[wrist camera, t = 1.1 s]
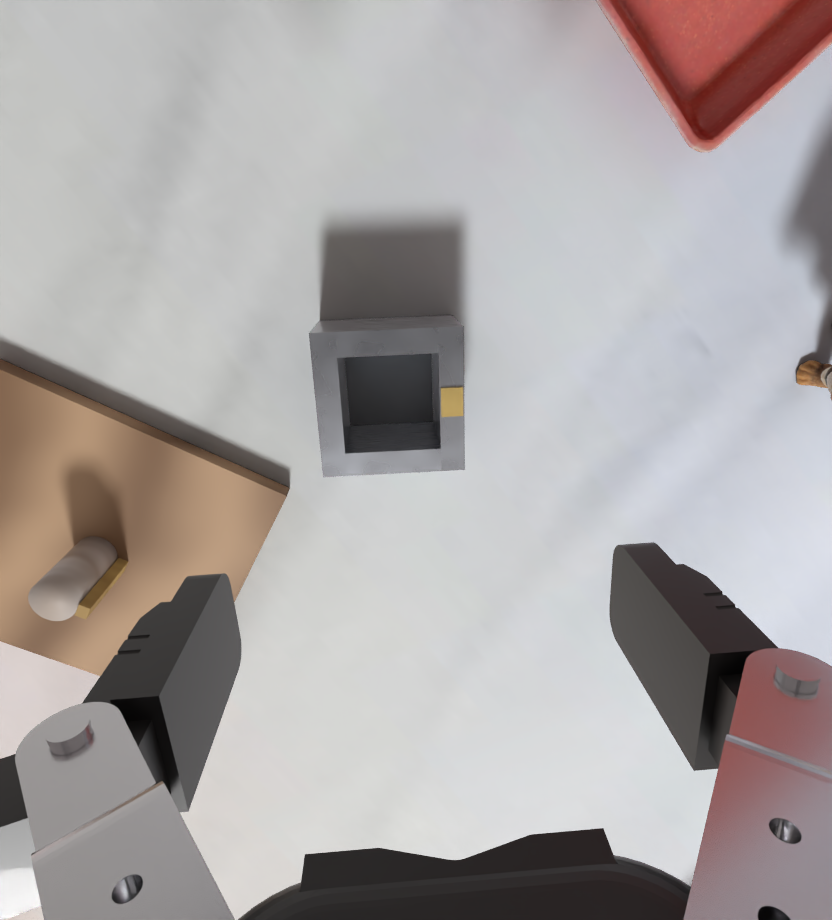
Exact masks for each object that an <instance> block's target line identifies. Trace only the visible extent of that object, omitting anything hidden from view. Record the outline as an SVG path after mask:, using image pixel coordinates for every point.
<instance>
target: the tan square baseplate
mask: <svg viewBox="0 0 832 920" xmlns="http://www.w3.org/2000/svg"><path fill="white" fill-rule="evenodd" d="M289 489H290V488H289V487H286V486H284V485H282V484H280V483H277V482H275V481H273V480H271V479H268V478H266V477H264V476H262V475H260V474H257V473H255V472H253V471H251V470H248V469H246V468H244V467H242V466H239V465H237V464H235V463H233V462H230V461H228V460H226V459H224V458H221V457H219V456H217V455H215V454H212V453H210V452H208V451H206V450H203V449H201V448H199V447H197V446H194V445H192V444H190V443H188V442H185V441H183V440H181V439H179V438H177V437H174V436H172V435H170V434H168V433H165V432H163V431H161V430H159V429H156V428H154V427H152V426H150V425H147V424H145V423H143V422H141V421H138V420H136V419H134V418H132V417H129V416H127V415H125V414H123V413H120V412H118V411H116V410H114V409H111V408H109V407H107V406H105V405H102V404H100V403H98V402H96V401H94V400H91V399H89V398H87V397H85V396H82V395H80V394H78V393H76V392H73V391H71V390H69V389H67V388H64V387H62V386H60V385H58V384H55V383H53V382H51V381H49V380H46V379H44V378H42V377H40V376H37V375H35V374H33V373H31V372H28V371H26V370H24V369H22V368H20V367H17V366H15V365H13V364H11V363H8V362H6V361H4V360H2V359H0V641H1V642H4V643H7V644H10V645H13V646H16V647H19V648H21V649H24V650H27V651H30V652H33V653H36V654H39V655H41V656H44V657H47V658H50V659H53V660H56V661H59V662H62V663H64V664H67V665H70V666H73V667H76V668H79V669H82V670H84V671H87V672H90V673H93V674H96V675H99V676H101V675H102V673H103V672H104V670H105V669H106V667H107V666H108V664H109V663H110V661H111V660H112V659H113V657H114V656H115V655H117V654H118V650H119V648H120V647H121V645H122V644H123V642H124V641H125V640H127V639H128V635H129V633H130V632H131V630H132V629H133V627H134V626H135V625H136V623H137V622H138V620H139V619H140V618H141V617H142V616H143V615H145V614H146V613H147V612H149V611H150V610H151V609H153V608H154V607H155V606H156V605H158V604H159V603H160V602H171V600H172V599H173V597H174V596H175V594H176V592H177V591H178V589H179V588H180V586H181V584H182V583H183V581H184V579H185V578H186V577H187V576H194V575H207V574H221V573H225V574H227V576H228V578H229V580H230V584H231V589H232V594H233V600H234V602H235V600H236V598H237V596H238V594H239V592H240V590H241V588H242V586H243V584H244V582H245V580H246V578H247V576H248V573H249V571H250V569H251V567H252V565H253V563H254V561H255V559H256V557H257V555H258V553H259V551H260V549H261V547H262V545H263V543H264V541H265V539H266V537H267V535H268V533H269V531H270V529H271V527H272V525H273V523H274V521H275V519H276V517H277V515H278V513H279V511H280V509H281V507H282V505H283V503H284V501H285V498H286V496H287V494H288V491H289Z"/></svg>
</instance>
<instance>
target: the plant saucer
mask: <svg viewBox="0 0 832 920" xmlns="http://www.w3.org/2000/svg"><path fill="white" fill-rule="evenodd" d="M596 2H597V3H598V5H599V6H600V8H601V10H602V11H603V13H604V14H605V16H606V18H607V19H608V21H609V22H610V24H611V25H612V27H613V28H614V30H615V32H616V33H617V35H618V36H619V38H620V39H621V41H622V42H623V44H624V46H625V47H626V49H627V50H628V52H629V53H630V55H631V56H632V58H633V59H634V61H635V62H636V64H637V66H638V67H639V69H640V70H641V72H642V74H643V75H644V77H645V78H646V80H647V82H648V83H649V85H650V86H651V88H652V89H653V91H654V92H655V94H656V95H657V97H658V98H659V100H660V102H661V103H662V105H663V107H664V108H665V110H666V111H667V113H668V114H669V116H670V118H671V119H672V121H673V122H674V124H675V125H676V127H677V129H678V130H679V132H680V133H681V135H682V136H683V138H684V140H685V141H686V143H687V144H688V145H689V146H690V147H691V148H693V149H694V150H696V151H699V152H711V151H713V150H714V149H716V148H717V147H718V146H720V145H721V144H722V143H723V142H725V141H726V140H727V139H728V138H729V137H730V136H731V135H732V134H733V133H735V132H736V131H737V130H738V129H739V128H740V127H741V126H742V125H743V124H744V123H745V122H746V121H747V120H748V119H749V118H750V117H752V116H753V115H754V114H755V113H756V112H758V111H759V110H760V109H761V108H762V107H763V106H764V105H765V104H766V103H768V102H769V101H770V100H771V99H772V98H773V97H774V96H775V95H776V94H778V93H779V92H780V91H781V90H782V89H783V88H784V87H785V86H786V85H787V84H788V83H789V82H791V81H792V80H793V79H794V78H795V77H796V76H797V75H798V74H800V73H801V72H802V71H803V70H804V69H805V68H806V67H807V66H808V65H810V64H811V63H812V62H813V61H814V60H815V59H816V58H817V57H818V56H819V55H820V54H821V53H822V52H823V51H824V50H826V49H827V48H828V47H829V46H830V45H831V44H832V0H596Z"/></svg>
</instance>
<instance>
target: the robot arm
mask: <svg viewBox="0 0 832 920" xmlns="http://www.w3.org/2000/svg"><path fill="white" fill-rule="evenodd" d="M610 622H611V627H612V631H613V634H614V637H615V639H616V641H617V643H618V645H619V646H620V648H621V650H622V651H623V653H624V655H625V656H626V658H627V660H628V661H629V663H630V665H631V666H632V668H633V670H634V671H635V673H636V675H637V676H638V678H639V680H640V681H641V683H642V685H643V686H644V688H645V690H646V691H647V693H648V695H649V696H650V698H651V700H652V701H653V703H654V705H655V706H656V708H657V710H658V711H659V713H660V715H661V716H662V718H663V720H664V722H665V723H666V725H667V727H668V728H669V730H670V732H671V733H672V735H673V737H674V738H675V740H676V742H677V743H678V745H679V747H680V748H681V750H682V752H683V753H684V755H685V757H686V758H687V760H688V762H689V763H690V765H691V767H692V768H693V770H694V771H695V770H707V769H718V773H717V777H716V781H715V786H714V790H713V794H712V798H711V803H710V807H709V811H708V816H707V820H706V824H705V829H704V833H703V837H702V842H701V846H700V850H699V855H698V859H697V863H696V868H695V872H694V876H693V881H692V885H691V887H690V886H689V885H687V884H686V883H684V882H683V881H681V880H679V879H677V878H675V877H673V876H672V875H670V874H668V873H666V872H664V871H662V870H660V869H657V868H655V867H652V866H650V865H647V864H645V863H642V862H639V861H635V860H632V859H628V858H625V857H620V856H615V855H613V853H612V850H611V848H610V845H609V842H608V840H607V837H606V834H605V832H604V829H603V828H602V829H590V830H579V831H568V832H556V833H545V834H533V835H529V836H526V837H523V838H520V839H518V840H515V841H512V842H509V843H507V844H504V845H501V846H498V847H496V848H493V849H490V850H487V851H485V852H482V853H479V854H477V855H474V856H471V857H468V858H466V859H462V860H446V859H441V858H435V857H429V856H423V855H417V854H411V853H405V852H400V851H394V850H388V849H382V848H373V849H362V850H350V851H339V852H328V853H316V854H305V858H304V866H303V873H302V881H301V883H298V884H296V885H293V886H290V887H288V888H286V889H284V890H282V891H280V892H278V893H276V894H274V895H272V896H270V897H269V898H267V899H266V900H264V901H263V902H261V903H259V904H258V905H256V906H255V907H253V908H252V909H251V910H250V911H248V912H247V913H246V914H244V915H243V916H242V917H241V918H239V919H238V920H832V666H830V665H828V664H827V663H825V662H823V661H821V660H819V659H817V658H815V657H812V656H810V655H807V654H804V653H801V652H797V651H793V650H788V649H780V648H778V647H777V646H776V645H775V644H774V643H773V642H772V641H771V640H770V639H769V638H768V637H767V636H766V635H765V634H764V633H763V632H762V631H761V630H760V629H759V628H758V627H757V626H756V625H755V624H754V623H753V622H752V621H751V620H750V619H749V618H748V617H747V616H746V615H745V614H744V613H743V612H742V611H741V610H740V609H739V608H735V604H734V603H733V602H732V601H731V600H730V599H729V598H728V597H727V596H726V595H723V594H722V591H721V590H720V589H719V588H718V587H717V586H716V585H715V584H714V583H713V582H712V581H711V580H710V579H709V578H708V577H707V576H705V575H703V574H701V573H699V572H697V571H696V570H694V569H692V568H690V567H688V566H686V565H684V564H679V565H676V564H675V563H674V562H673V561H672V560H671V559H670V558H669V557H668V555H667V554H666V553H665V552H664V551H663V550H662V549H661V548H660V547H659V546H658V545H657V544H656V543H640V544H626V545H618V546H616V548H615V550H614V554H613V564H612V580H611V595H610ZM240 660H241V638H240V632H239V626H238V621H237V616H236V610H235V605H234V600H233V594H232V589H231V584H230V580H229V578H228V576H227V574H225V573H221V574H207V575H194V576H187V577H186V578H185V579H184V581H183V583H182V584H181V586H180V588H179V589H178V591H177V592H176V594H175V596H174V597H173V599H172V600H171V602H160V603H159V604H158V605H156V606H155V607H154V608H153V609H151V610H150V611H149V612H147V613H146V614H145V615H143V616H142V617H141V618H140V619H139V620H138V622H137V623H136V625H135V626H134V627H133V629H132V630H131V632H130V633H129V635H128V639H127V640H125V641H124V642H123V644H122V645H121V647H120V648H119V650H118V654H117V655H115V656H114V657H113V659H112V660H111V661H110V663H109V664H108V666H107V667H106V669H105V670H104V672H103V673H102V675H101V676H100V678H99V679H98V681H97V682H96V684H95V685H94V687H93V688H92V690H91V691H90V693H89V694H88V695H87V697H86V698H85V700H84V701H83V703H82V704H79V705H76V706H72V707H69V708H67V709H64V710H62V711H60V712H58V713H56V714H54V715H52V716H50V717H49V718H47V719H46V720H44V721H43V722H41V723H40V724H39V725H37V726H36V727H35V728H34V729H33V730H31V731H30V732H29V733H28V735H27V736H26V737H25V738H24V739H23V741H22V742H21V743H20V745H19V747H18V749H17V751H16V754H14V755H11V756H9V757H5V758H2V759H0V920H6V919H9V918H11V917H14V916H17V915H19V914H22V913H24V912H27V911H29V910H32V909H35V908H37V907H40V906H41V907H42V912H43V916H44V920H235V919H234V917H233V915H232V913H231V911H230V909H229V908H228V906H227V904H226V902H225V900H224V898H223V896H222V894H221V892H220V890H219V888H218V886H217V884H216V882H215V880H214V878H213V876H212V875H211V873H210V871H209V869H208V867H207V865H206V863H205V861H204V859H203V857H202V855H201V853H200V851H199V849H198V847H197V845H196V843H195V842H194V840H193V838H192V836H191V834H190V832H189V830H188V828H187V826H186V824H185V822H184V820H183V818H182V816H181V814H180V812H188V811H189V808H190V805H191V802H192V800H193V797H194V794H195V791H196V788H197V785H198V783H199V780H200V777H201V774H202V771H203V768H204V766H205V763H206V760H207V757H208V754H209V752H210V749H211V746H212V743H213V740H214V737H215V735H216V732H217V729H218V726H219V723H220V721H221V718H222V715H223V712H224V709H225V706H226V704H227V701H228V698H229V695H230V692H231V689H232V687H233V684H234V681H235V678H236V675H237V673H238V670H239V666H240Z"/></svg>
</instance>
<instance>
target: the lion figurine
mask: <svg viewBox="0 0 832 920" xmlns="http://www.w3.org/2000/svg"><path fill="white" fill-rule="evenodd" d="M796 376H797V380H796V381H797V383H798V384H800V385H811V386H817V387H824V388H828V389H829V392H830V393H831V400H832V365H831V364H821V363H819V362H817V361H814V360H810V361H806V362H805V363H803V364H801V365H800V366H799V368H798V371H797V374H796Z"/></svg>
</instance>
